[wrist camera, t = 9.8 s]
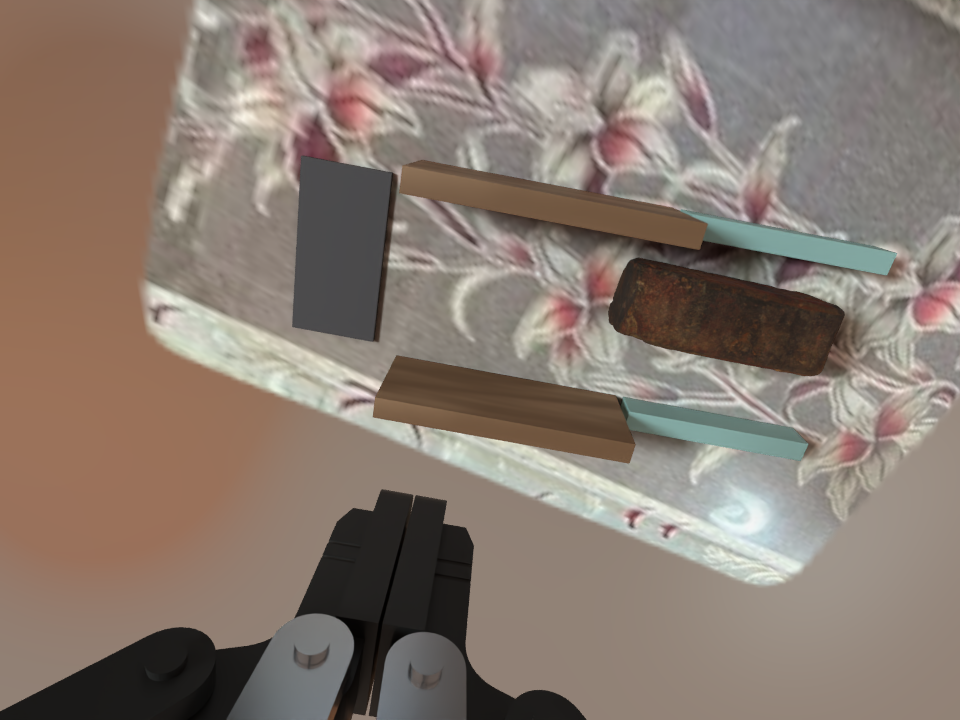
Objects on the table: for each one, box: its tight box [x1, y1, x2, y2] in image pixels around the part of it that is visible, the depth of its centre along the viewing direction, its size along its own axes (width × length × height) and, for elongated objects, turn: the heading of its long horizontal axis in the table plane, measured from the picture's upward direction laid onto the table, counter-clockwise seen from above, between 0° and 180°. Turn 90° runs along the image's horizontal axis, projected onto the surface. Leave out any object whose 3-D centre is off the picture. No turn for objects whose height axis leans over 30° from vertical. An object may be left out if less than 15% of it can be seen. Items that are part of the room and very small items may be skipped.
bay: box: [620, 209, 897, 461], centre depth 32 cm, size 13×11×2 cm
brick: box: [608, 258, 844, 376], centre depth 30 cm, size 11×4×5 cm, turn 78°
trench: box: [373, 160, 708, 463], centre depth 30 cm, size 13×14×6 cm
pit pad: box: [292, 156, 393, 342], centre depth 33 cm, size 10×5×1 cm, turn 170°
